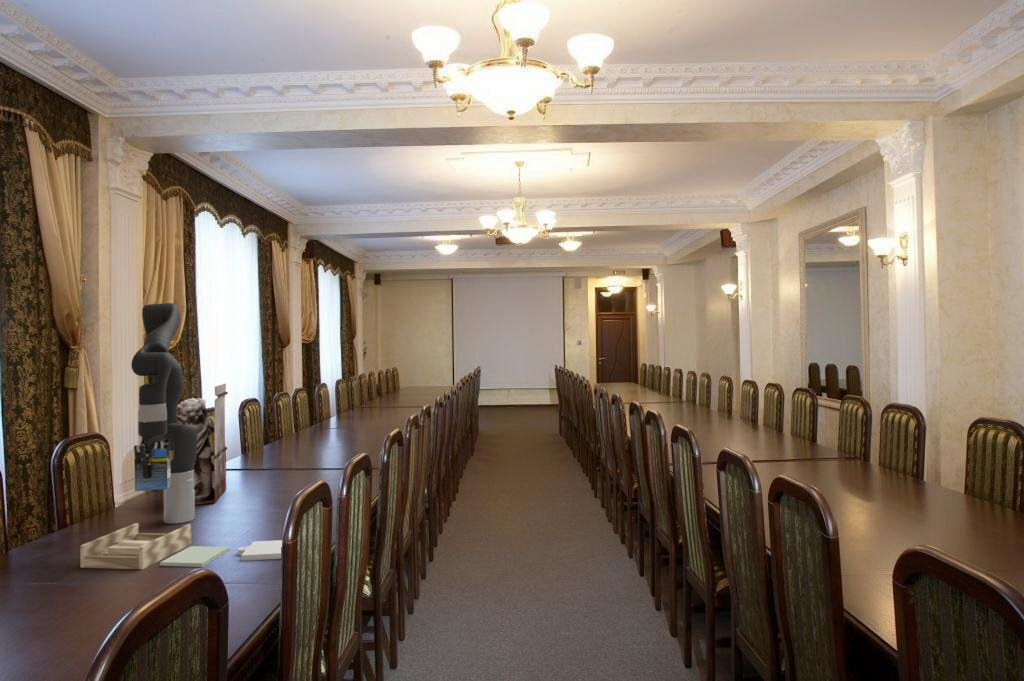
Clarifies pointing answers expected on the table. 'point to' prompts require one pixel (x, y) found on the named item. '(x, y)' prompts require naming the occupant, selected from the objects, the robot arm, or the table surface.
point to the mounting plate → (261, 550)
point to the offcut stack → (125, 548)
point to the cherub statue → (207, 445)
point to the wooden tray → (147, 553)
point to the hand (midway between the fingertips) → (153, 476)
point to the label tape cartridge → (154, 473)
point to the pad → (195, 556)
